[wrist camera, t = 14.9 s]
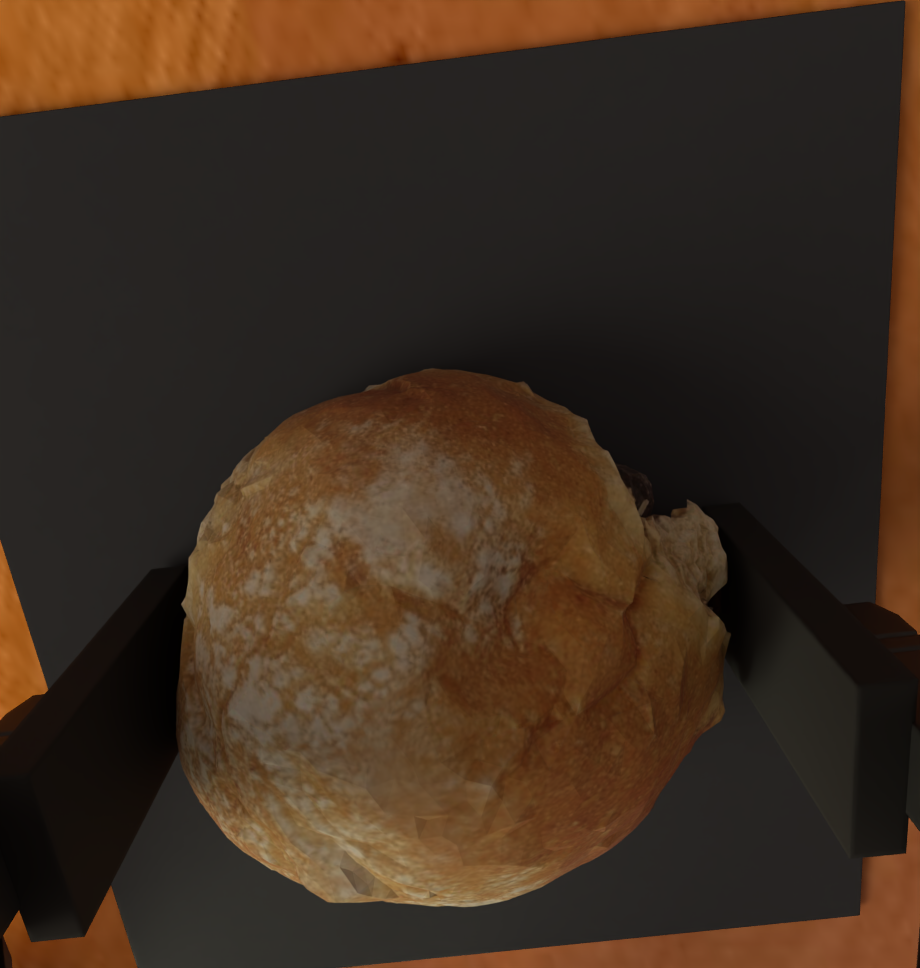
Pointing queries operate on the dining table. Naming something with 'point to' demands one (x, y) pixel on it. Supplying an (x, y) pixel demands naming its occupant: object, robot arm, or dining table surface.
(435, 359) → the placemat
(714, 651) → the bread roll
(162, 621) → the robot arm
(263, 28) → the dining table surface
